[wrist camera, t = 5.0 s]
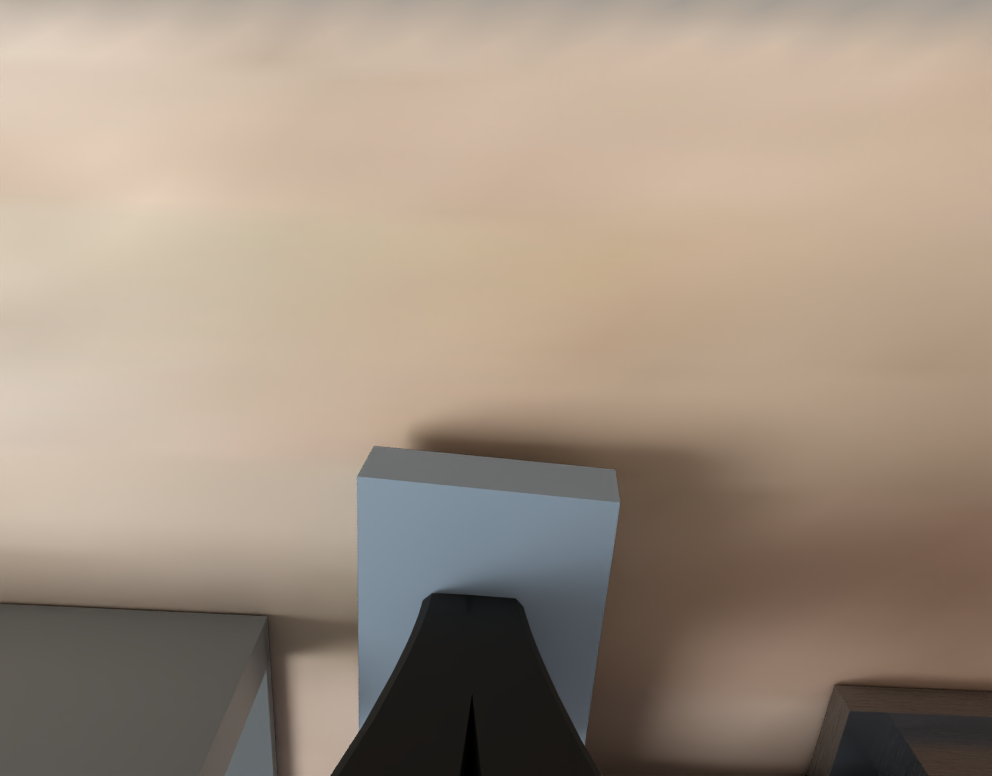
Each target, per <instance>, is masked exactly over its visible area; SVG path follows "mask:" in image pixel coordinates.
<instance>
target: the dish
mask: <svg viewBox="0 0 992 776" xmlns="http://www.w3.org/2000/svg"><path fill="white" fill-rule="evenodd" d="M0 776H278V774H277V759H276V743H275V728H274V712H273V696H272V681H271V665H270V650H269V634H268V618H267V616H253V615H232V614H210V613H189V612H167V611H145V610H124V609H102V608H81V607H59V606H38V605H16V604H0Z"/></svg>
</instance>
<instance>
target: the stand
mask: <svg viewBox="0 0 992 776" xmlns="http://www.w3.org/2000/svg"><path fill="white" fill-rule="evenodd" d="M807 776H992V692H978V691H955V690H933V689H910V688H888V687H865V686H843V685H835V686H834V689H833V692H832V696H831V699H830V702H829V705H828V709H827V712H826V715H825V719H824V722H823V725H822V728H821V732H820V735H819V738H818V741H817V745H816V748H815V751H814V755H813V758H812V761H811V764H810V768H809V771H808V774H807Z"/></svg>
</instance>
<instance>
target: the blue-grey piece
mask: <svg viewBox="0 0 992 776" xmlns="http://www.w3.org/2000/svg"><path fill="white" fill-rule="evenodd" d="M619 508H620V497H619V491H618V484H617V477H616V470H615V469H607V468H596V467H586V466H576V465H565V464H555V463H545V462H534V461H524V460H514V459H503V458H493V457H483V456H473V455H462V454H452V453H442V452H431V451H421V450H411V449H400V448H390V447H380V446H374V447H373V449H372V451H371V452H370V454H369V456H368V458H367V460H366V461H365V463H364V465H363V467H362V469H361V470H360V472H359V474H358V476H357V525H358V665H359V731H360V729H361V727H362V726H363V724H364V722H365V721H366V719H367V717H368V715H369V713H370V712H371V710H372V708H373V706H374V704H375V703H376V701H377V699H378V697H379V696H380V694H381V692H382V690H383V688H384V687H385V685H386V683H387V681H388V679H389V678H390V676H391V674H392V672H393V670H394V668H395V666H396V664H397V662H398V660H399V658H400V656H401V654H402V652H403V650H404V648H405V646H406V644H407V641H408V639H409V637H410V635H411V632H412V630H413V627H414V625H415V622H416V620H417V617H418V614H419V611H420V608H421V604H422V601H423V600H424V599H425V598H426V597H428V596H429V595H430V594H432V593H443V594H465V595H479V596H492V597H505V598H516V599H517V600H518V601H519V602H520V604H521V605H522V606H523V607H524V610H525V614H526V617H527V620H528V623H529V626H530V629H531V632H532V634H533V637H534V640H535V642H536V645H537V647H538V650H539V652H540V655H541V657H542V659H543V662H544V664H545V666H546V669H547V671H548V673H549V675H550V678H551V680H552V682H553V684H554V686H555V688H556V691H557V693H558V695H559V697H560V699H561V701H562V703H563V705H564V707H565V709H566V711H567V713H568V715H569V717H570V719H571V721H572V722H573V724H574V726H575V728H576V730H577V732H578V734H579V736H580V738H581V740H582V742H583V744H584V746H585V739H586V733H587V726H588V719H589V712H590V705H591V699H592V692H593V685H594V678H595V671H596V665H597V658H598V651H599V644H600V637H601V630H602V624H603V617H604V610H605V603H606V596H607V590H608V583H609V576H610V569H611V562H612V556H613V549H614V542H615V535H616V528H617V522H618V515H619Z"/></svg>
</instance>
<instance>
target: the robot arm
mask: <svg viewBox="0 0 992 776" xmlns="http://www.w3.org/2000/svg"><path fill="white" fill-rule="evenodd" d="M331 776H601V774H600V773H599V771H598V769H597V767H596V766H595V764H594V762H593V760H592V758H591V757H590V755H589V753H588V751H587V749H586V748H585V746H584V744H583V742H582V740H581V738H580V736H579V734H578V732H577V730H576V728H575V726H574V724H573V722H572V721H571V719H570V717H569V715H568V713H567V711H566V709H565V707H564V705H563V703H562V701H561V699H560V697H559V695H558V693H557V691H556V688H555V686H554V684H553V682H552V680H551V678H550V675H549V673H548V671H547V669H546V666H545V664H544V662H543V659H542V657H541V655H540V652H539V650H538V647H537V645H536V642H535V640H534V637H533V634H532V632H531V629H530V626H529V623H528V620H527V617H526V614H525V610H524V607H523V606H522V605H521V604H520V602H519V601H518V600H517V599H516V598H505V597H492V596H479V595H465V594H443V593H432V594H430V595H429V596H428V597H426V598H425V599H424V600H423V601H422V604H421V608H420V611H419V614H418V617H417V620H416V622H415V625H414V627H413V630H412V632H411V635H410V637H409V639H408V641H407V644H406V646H405V648H404V650H403V652H402V654H401V656H400V658H399V660H398V662H397V664H396V666H395V668H394V670H393V672H392V674H391V676H390V678H389V679H388V681H387V683H386V685H385V687H384V688H383V690H382V692H381V694H380V696H379V697H378V699H377V701H376V703H375V704H374V706H373V708H372V710H371V712H370V713H369V715H368V717H367V719H366V721H365V722H364V724H363V726H362V727H361V729H360V731H359V732H358V734H357V735H356V737H355V739H354V740H353V742H352V743H351V745H350V746H349V748H348V749H347V751H346V752H345V754H344V756H343V757H342V759H341V760H340V762H339V763H338V765H337V766H336V768H335V769H334V771H333V773H332V774H331Z"/></svg>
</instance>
